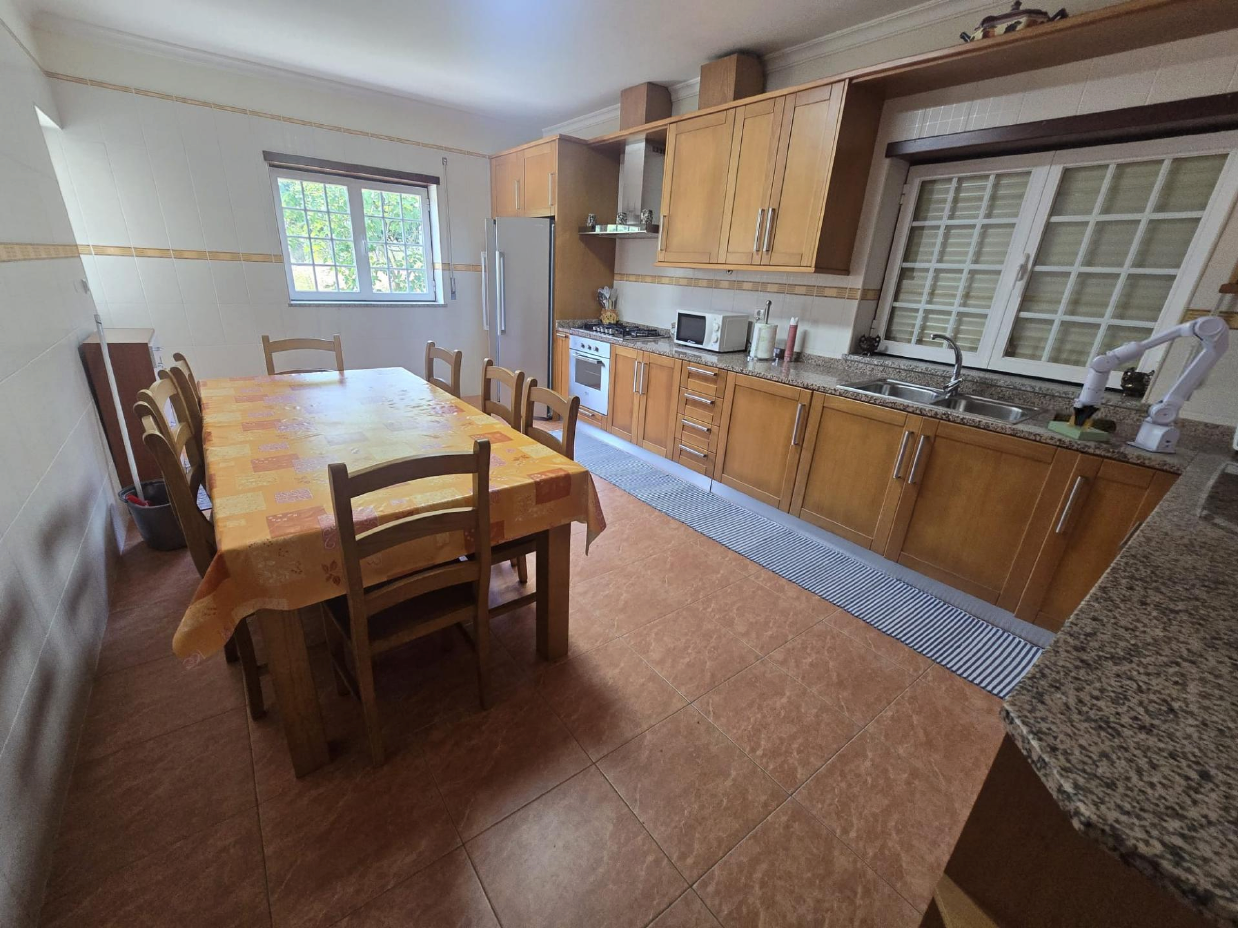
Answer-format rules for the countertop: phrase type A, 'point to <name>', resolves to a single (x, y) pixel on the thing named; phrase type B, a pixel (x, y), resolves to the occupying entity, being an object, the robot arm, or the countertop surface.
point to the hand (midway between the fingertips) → (1079, 425)
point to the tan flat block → (1085, 425)
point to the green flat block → (1078, 431)
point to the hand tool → (1096, 424)
